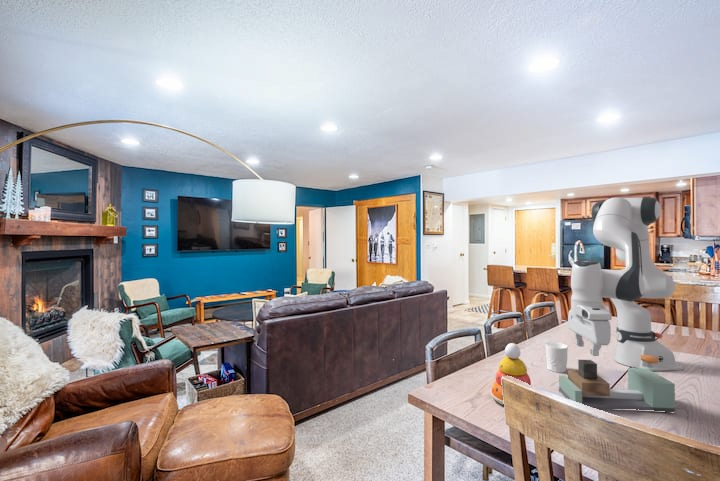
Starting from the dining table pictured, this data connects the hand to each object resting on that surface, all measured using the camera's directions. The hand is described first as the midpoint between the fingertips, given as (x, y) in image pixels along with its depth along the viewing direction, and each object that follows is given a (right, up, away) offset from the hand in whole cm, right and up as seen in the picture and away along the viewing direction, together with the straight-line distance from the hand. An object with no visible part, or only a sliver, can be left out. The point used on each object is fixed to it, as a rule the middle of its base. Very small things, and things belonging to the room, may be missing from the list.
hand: (587, 350), depth 112 cm
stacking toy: (-24, -17, +1) cm, 30 cm away
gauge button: (+19, -5, -3) cm, 19 cm away
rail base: (+8, -16, -1) cm, 18 cm away
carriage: (+1, -13, 0) cm, 13 cm away
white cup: (+5, -17, +26) cm, 31 cm away
